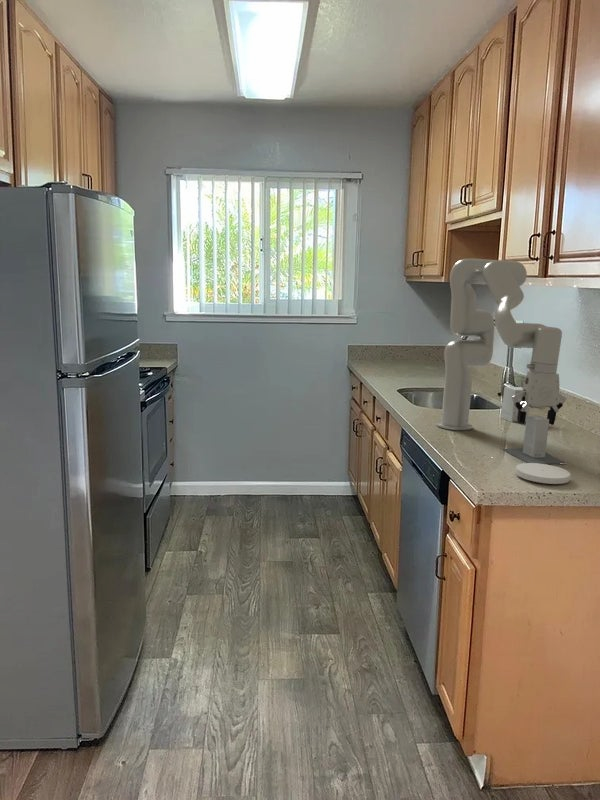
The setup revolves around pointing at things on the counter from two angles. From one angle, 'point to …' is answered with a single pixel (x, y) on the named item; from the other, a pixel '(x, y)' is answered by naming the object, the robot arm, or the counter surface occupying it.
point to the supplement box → (511, 404)
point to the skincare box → (535, 436)
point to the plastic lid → (542, 473)
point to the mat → (528, 459)
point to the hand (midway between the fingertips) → (535, 423)
